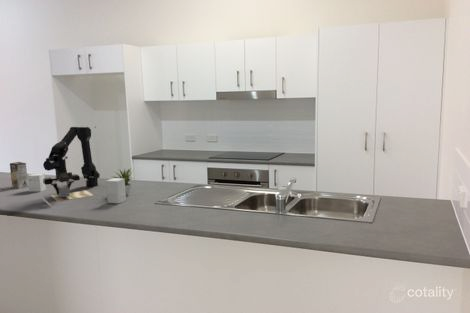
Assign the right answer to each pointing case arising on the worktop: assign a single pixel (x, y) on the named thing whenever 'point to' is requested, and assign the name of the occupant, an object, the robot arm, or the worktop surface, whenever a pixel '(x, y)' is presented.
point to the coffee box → (18, 175)
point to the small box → (36, 183)
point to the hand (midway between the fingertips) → (62, 193)
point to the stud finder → (63, 191)
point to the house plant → (126, 177)
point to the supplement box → (116, 190)
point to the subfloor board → (73, 195)
